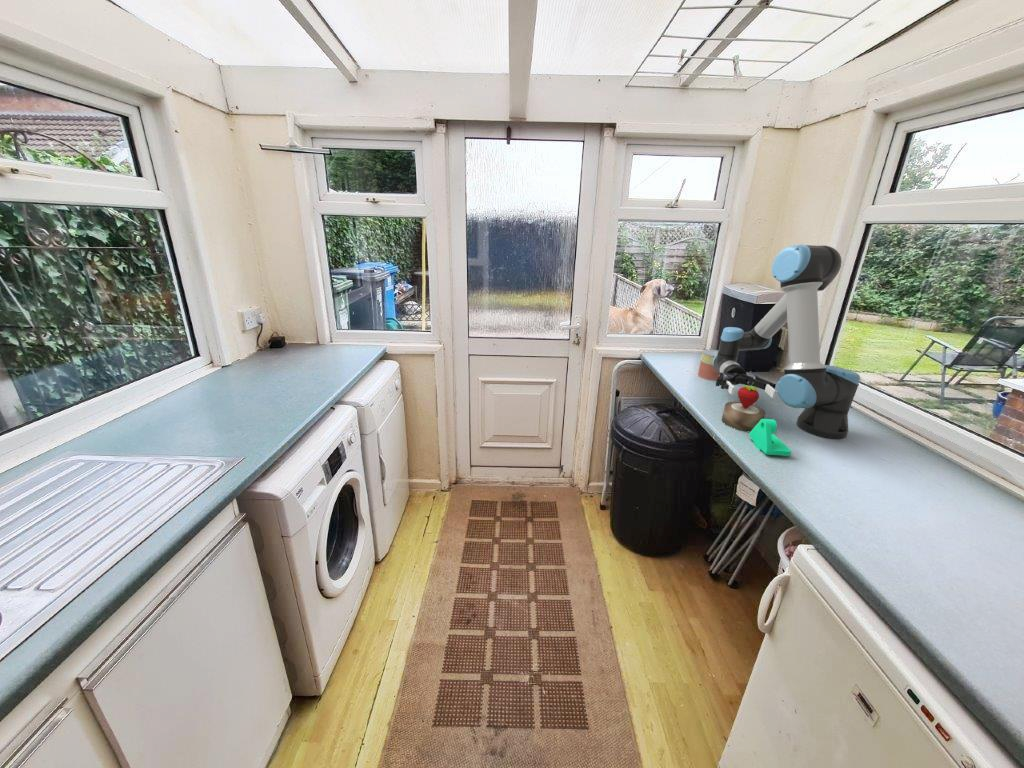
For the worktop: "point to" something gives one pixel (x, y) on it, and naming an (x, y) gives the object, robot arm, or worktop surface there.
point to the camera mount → (768, 438)
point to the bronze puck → (742, 416)
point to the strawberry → (748, 395)
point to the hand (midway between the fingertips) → (753, 392)
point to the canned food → (708, 366)
